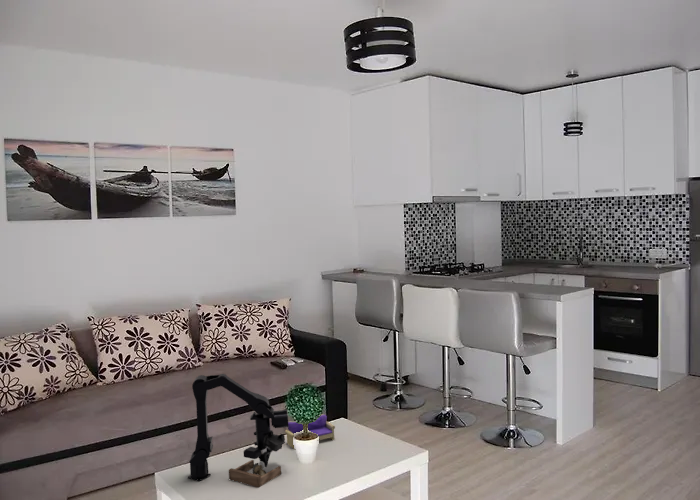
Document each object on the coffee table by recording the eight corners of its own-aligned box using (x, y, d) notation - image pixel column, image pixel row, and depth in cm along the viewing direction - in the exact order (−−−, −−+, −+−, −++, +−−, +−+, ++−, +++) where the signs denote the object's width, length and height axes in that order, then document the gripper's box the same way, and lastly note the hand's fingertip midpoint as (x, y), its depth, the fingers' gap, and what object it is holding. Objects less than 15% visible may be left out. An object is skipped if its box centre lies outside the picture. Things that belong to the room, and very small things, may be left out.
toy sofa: (292, 450, 267) (291, 427, 267) (285, 444, 275) (284, 421, 274) (336, 440, 277) (335, 418, 276) (327, 434, 284) (326, 413, 284)
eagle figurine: (242, 473, 241) (248, 477, 233) (251, 456, 243) (256, 459, 235) (259, 481, 243) (265, 485, 235) (267, 463, 245) (274, 467, 237)
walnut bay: (258, 487, 231) (258, 477, 230) (229, 479, 239) (228, 469, 238) (281, 474, 242) (280, 464, 242) (252, 467, 250) (251, 457, 250)
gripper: (263, 440, 232) (266, 480, 233) (293, 424, 248) (295, 461, 249) (241, 435, 238) (244, 475, 239) (271, 420, 254) (273, 457, 255)
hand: (265, 467), depth 246 cm, fingers closed
